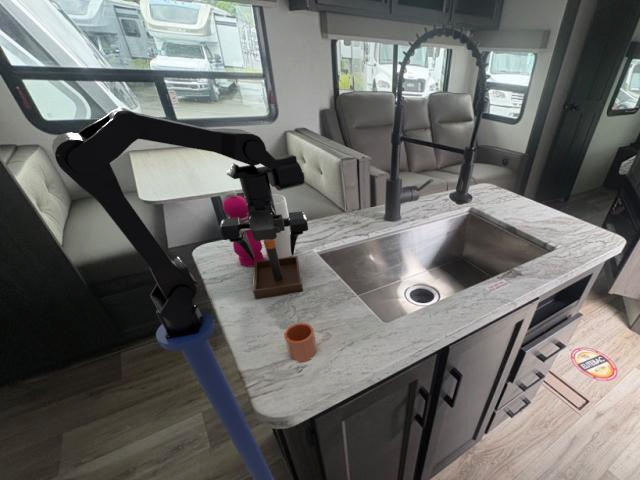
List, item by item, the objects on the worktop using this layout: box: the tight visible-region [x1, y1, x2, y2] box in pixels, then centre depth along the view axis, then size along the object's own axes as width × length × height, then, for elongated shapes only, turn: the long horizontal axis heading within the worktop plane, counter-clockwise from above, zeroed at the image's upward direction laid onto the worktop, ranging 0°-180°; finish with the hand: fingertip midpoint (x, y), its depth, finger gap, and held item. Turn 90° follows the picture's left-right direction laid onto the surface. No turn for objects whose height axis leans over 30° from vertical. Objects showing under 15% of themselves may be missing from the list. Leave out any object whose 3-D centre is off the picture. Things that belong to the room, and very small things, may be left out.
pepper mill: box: [222, 190, 265, 267], centre depth 85 cm, size 7×7×20 cm
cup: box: [262, 193, 296, 259], centre depth 91 cm, size 8×8×16 cm
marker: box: [263, 239, 283, 281], centre depth 80 cm, size 2×2×11 cm
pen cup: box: [283, 322, 318, 364], centre depth 62 cm, size 5×5×6 cm
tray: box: [252, 255, 304, 300], centre depth 83 cm, size 11×14×2 cm
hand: (273, 256), depth 80 cm, fingers open, 9 cm apart
